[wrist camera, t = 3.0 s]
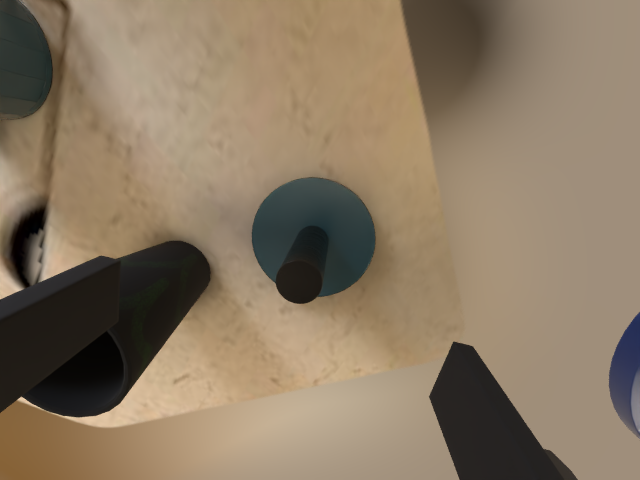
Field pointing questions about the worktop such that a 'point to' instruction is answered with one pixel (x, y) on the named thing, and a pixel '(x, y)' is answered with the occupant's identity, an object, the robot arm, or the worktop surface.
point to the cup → (128, 331)
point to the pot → (22, 62)
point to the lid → (313, 238)
